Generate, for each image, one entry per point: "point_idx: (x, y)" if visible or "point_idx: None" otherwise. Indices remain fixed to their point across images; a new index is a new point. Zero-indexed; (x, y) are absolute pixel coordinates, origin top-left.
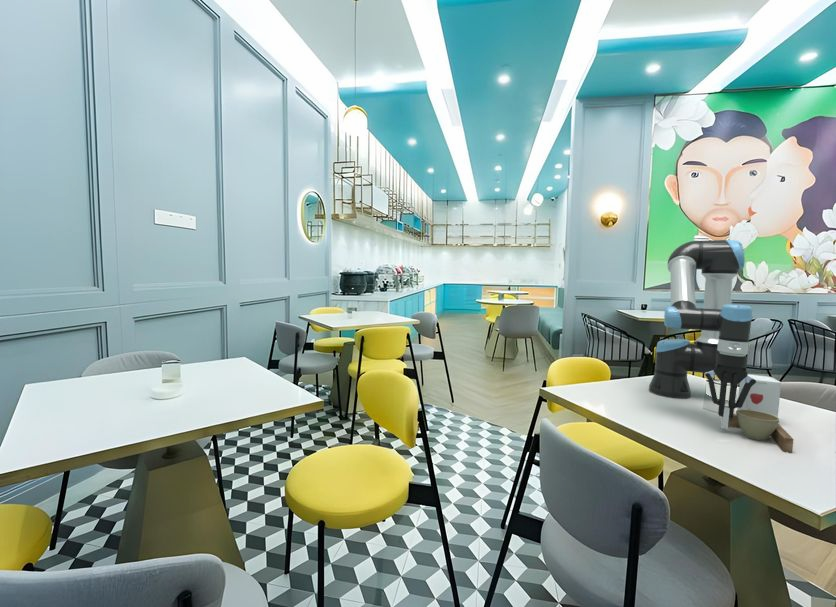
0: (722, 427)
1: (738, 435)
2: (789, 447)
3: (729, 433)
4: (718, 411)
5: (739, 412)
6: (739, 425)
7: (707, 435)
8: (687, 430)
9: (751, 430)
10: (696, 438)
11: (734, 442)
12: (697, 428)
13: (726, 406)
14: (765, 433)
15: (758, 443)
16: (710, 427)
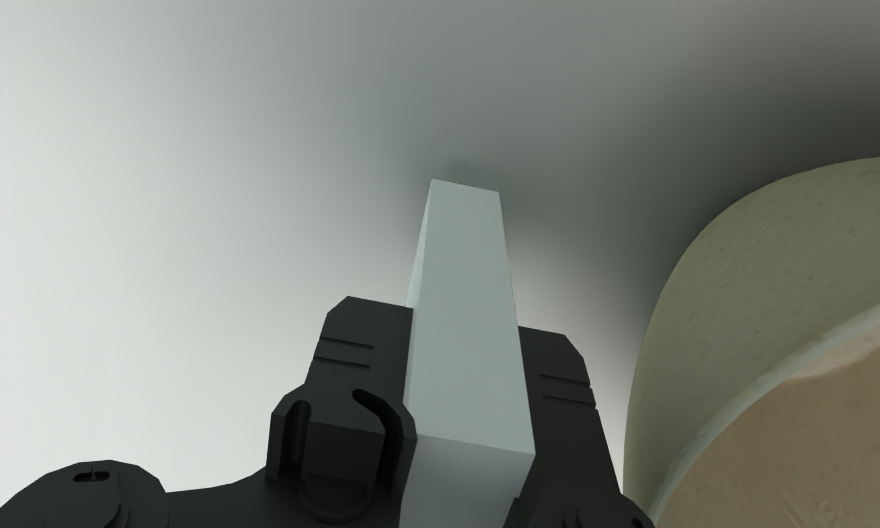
0: (406, 299)
1: (596, 276)
2: None
3: (509, 241)
4: (314, 365)
5: (833, 297)
6: (652, 315)
7: (218, 396)
8: (19, 317)
9: (691, 479)
10: None
11: None
12: (134, 195)
13: (473, 485)
14: (833, 499)
15: None
16: (324, 66)
